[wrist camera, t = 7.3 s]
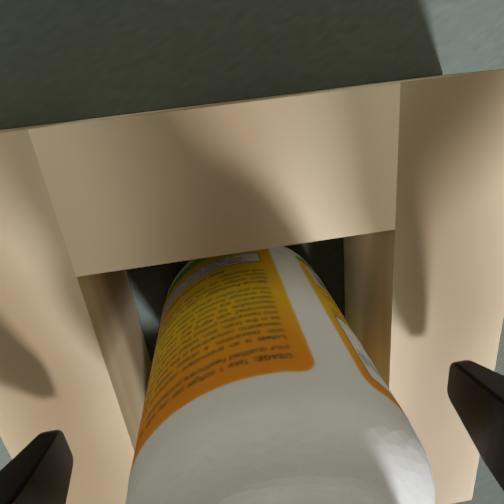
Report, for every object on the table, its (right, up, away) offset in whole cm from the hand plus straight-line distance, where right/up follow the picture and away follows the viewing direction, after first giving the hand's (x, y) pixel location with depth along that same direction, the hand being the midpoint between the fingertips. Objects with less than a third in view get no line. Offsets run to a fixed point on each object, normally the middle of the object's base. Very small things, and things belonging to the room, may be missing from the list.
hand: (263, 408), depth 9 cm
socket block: (0, +2, +4) cm, 4 cm away
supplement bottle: (0, +2, +4) cm, 5 cm away
